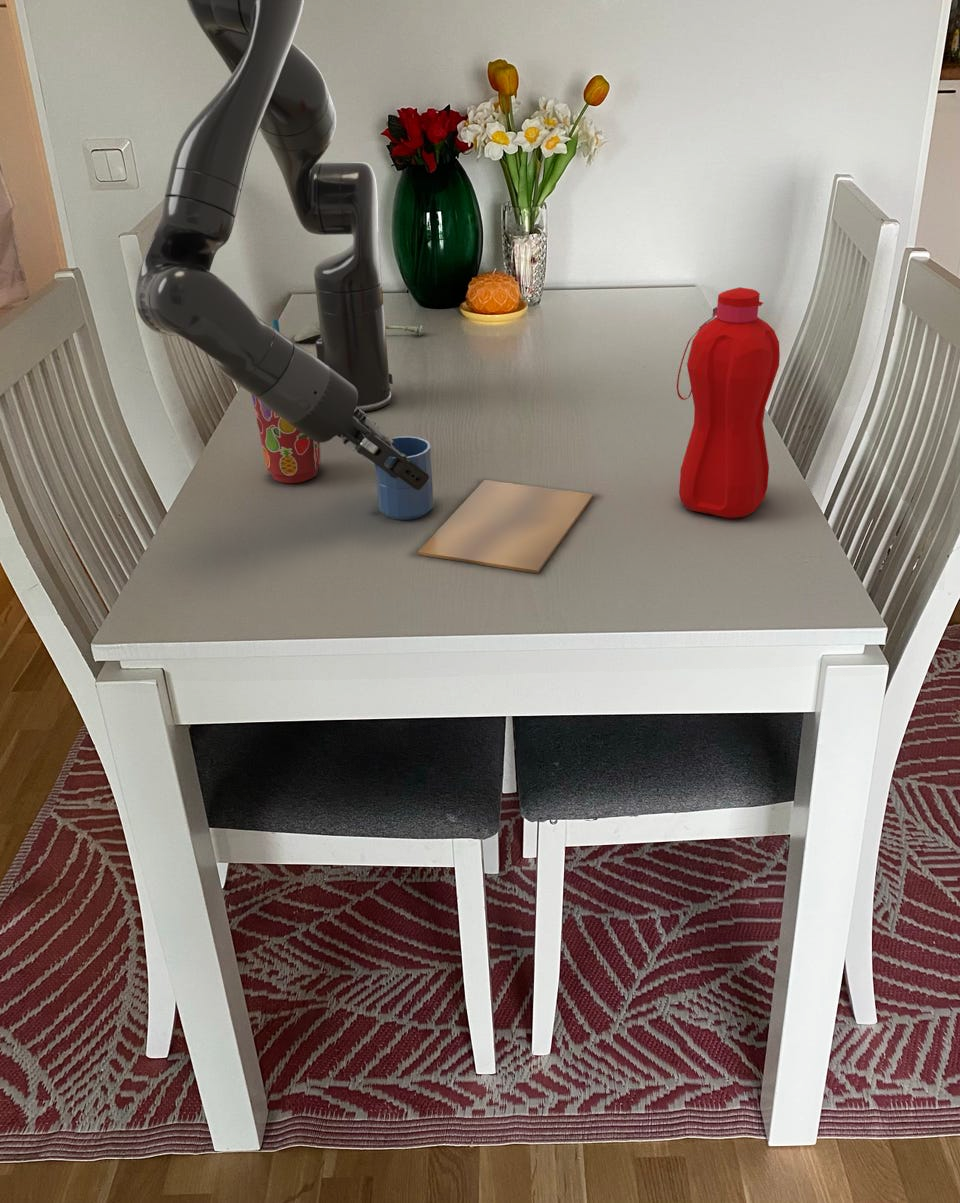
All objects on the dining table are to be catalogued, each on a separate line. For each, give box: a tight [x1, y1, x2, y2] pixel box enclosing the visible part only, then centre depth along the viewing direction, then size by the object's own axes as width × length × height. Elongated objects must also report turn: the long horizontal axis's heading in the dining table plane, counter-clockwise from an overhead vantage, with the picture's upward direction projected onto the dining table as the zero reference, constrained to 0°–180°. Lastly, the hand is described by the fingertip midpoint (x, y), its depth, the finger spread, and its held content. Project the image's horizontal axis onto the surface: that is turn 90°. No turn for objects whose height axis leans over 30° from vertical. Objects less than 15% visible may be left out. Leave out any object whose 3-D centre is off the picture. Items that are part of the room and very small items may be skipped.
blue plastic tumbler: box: [374, 435, 435, 521], centre depth 134 cm, size 6×6×8 cm
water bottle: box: [676, 286, 781, 520], centre depth 129 cm, size 9×11×25 cm
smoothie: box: [251, 318, 322, 484], centre depth 141 cm, size 8×8×20 cm
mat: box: [417, 479, 594, 574], centre depth 132 cm, size 14×20×1 cm
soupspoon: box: [293, 321, 423, 342], centre depth 195 cm, size 22×3×7 cm
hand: (410, 469), depth 134 cm, fingers open, 8 cm apart
